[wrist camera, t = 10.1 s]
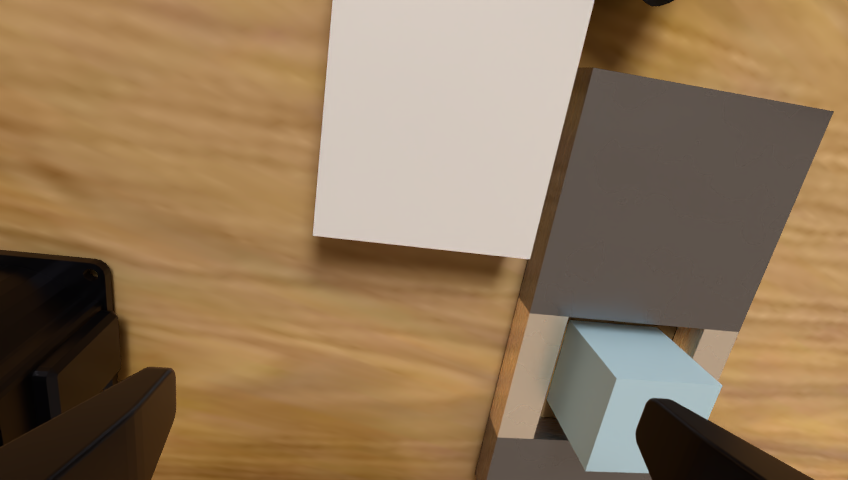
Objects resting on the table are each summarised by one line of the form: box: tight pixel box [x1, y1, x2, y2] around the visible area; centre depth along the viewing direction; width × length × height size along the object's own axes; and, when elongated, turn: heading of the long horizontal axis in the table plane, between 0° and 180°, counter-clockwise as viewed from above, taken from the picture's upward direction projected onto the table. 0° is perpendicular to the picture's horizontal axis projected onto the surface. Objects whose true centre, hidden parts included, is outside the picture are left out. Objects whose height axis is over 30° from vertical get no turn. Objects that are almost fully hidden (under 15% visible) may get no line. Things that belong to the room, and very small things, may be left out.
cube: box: [547, 320, 722, 473], centre depth 21 cm, size 4×4×4 cm
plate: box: [475, 68, 834, 480], centre depth 21 cm, size 10×20×2 cm, turn 171°
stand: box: [313, 0, 594, 259], centre depth 16 cm, size 8×10×2 cm
